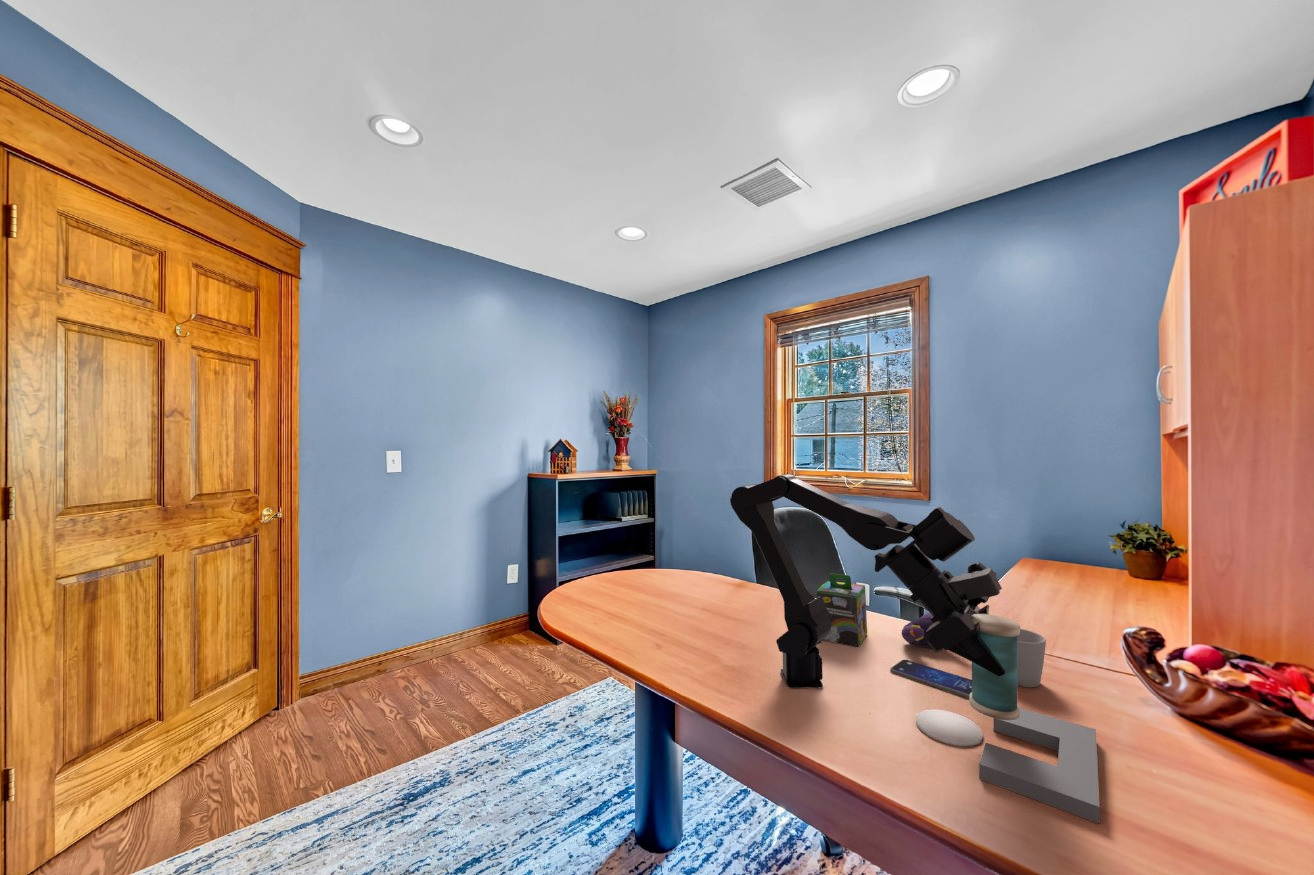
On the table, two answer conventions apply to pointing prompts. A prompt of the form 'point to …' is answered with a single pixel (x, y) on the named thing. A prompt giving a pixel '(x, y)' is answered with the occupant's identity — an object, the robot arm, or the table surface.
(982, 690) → the bobbin
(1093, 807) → the notched board
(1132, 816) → the table surface
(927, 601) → the robot arm
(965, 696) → the smartphone
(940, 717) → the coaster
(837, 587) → the chalk box
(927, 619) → the toy
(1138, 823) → the table surface
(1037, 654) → the cup
